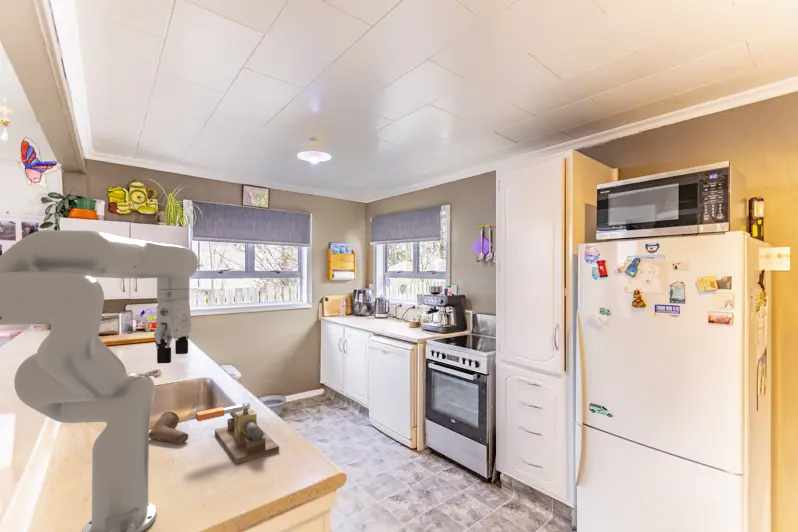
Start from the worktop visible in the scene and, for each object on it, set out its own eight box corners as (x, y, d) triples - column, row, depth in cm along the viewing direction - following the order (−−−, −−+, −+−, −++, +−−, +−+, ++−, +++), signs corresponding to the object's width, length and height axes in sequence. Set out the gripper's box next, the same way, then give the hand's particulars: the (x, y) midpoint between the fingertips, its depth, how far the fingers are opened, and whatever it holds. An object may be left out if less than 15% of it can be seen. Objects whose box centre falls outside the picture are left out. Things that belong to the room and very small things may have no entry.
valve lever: (251, 409, 117) (251, 403, 117) (197, 421, 108) (198, 415, 108) (248, 407, 119) (248, 401, 119) (196, 418, 110) (196, 412, 110)
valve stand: (279, 451, 111) (279, 415, 111) (236, 464, 104) (236, 426, 104) (252, 424, 130) (252, 394, 130) (214, 434, 123) (215, 401, 123)
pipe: (177, 432, 113) (204, 415, 123) (137, 424, 119) (165, 408, 128) (179, 452, 114) (206, 433, 124) (140, 443, 120) (168, 426, 129)
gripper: (172, 298, 95) (172, 366, 95) (201, 292, 112) (201, 350, 112) (140, 298, 94) (140, 367, 94) (174, 292, 111) (174, 351, 111)
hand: (173, 358), depth 103 cm, fingers open, 9 cm apart
